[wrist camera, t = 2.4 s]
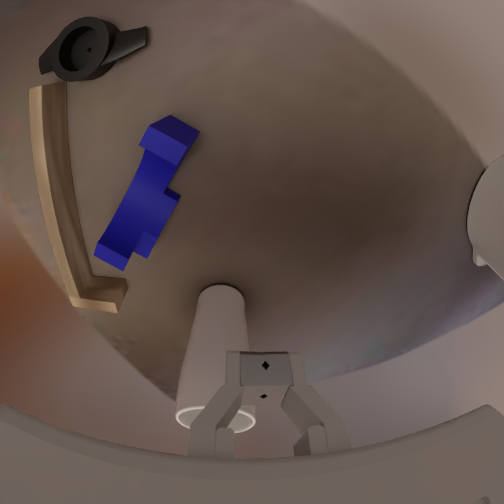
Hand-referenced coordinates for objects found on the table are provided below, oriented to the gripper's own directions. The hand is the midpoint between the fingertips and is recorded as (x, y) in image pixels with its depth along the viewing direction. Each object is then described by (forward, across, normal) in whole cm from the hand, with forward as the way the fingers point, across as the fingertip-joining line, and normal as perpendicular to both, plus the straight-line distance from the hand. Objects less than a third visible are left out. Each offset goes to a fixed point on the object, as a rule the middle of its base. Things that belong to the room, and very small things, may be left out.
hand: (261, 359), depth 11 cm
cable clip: (+17, +8, -1) cm, 19 cm away
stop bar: (+17, +16, +1) cm, 24 cm away
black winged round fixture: (+18, +15, -14) cm, 27 cm away
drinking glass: (+17, +2, +13) cm, 22 cm away
